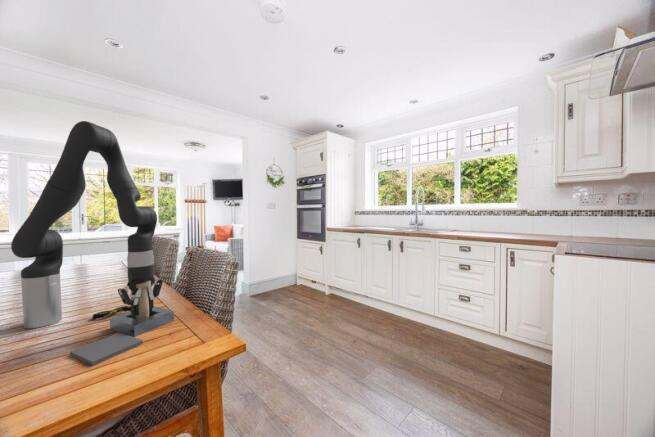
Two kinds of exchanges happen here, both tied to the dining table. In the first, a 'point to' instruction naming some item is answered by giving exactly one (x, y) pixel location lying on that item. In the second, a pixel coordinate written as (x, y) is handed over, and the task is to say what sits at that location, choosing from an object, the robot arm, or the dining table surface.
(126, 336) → the mat
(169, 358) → the dining table surface
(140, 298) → the handle
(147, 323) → the holder
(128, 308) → the toy snake
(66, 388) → the dining table surface
